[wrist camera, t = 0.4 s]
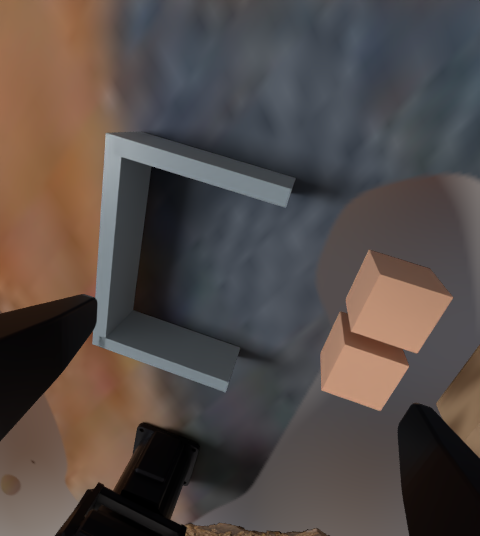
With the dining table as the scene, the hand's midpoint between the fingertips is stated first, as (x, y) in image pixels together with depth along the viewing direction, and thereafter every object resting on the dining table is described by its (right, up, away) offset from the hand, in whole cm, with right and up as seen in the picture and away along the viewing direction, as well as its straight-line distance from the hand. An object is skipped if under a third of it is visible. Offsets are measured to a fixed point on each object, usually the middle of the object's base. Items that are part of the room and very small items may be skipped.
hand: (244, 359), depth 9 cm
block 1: (+10, +1, +13) cm, 16 cm away
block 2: (+8, -3, +15) cm, 18 cm away
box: (-3, +3, +15) cm, 16 cm away
